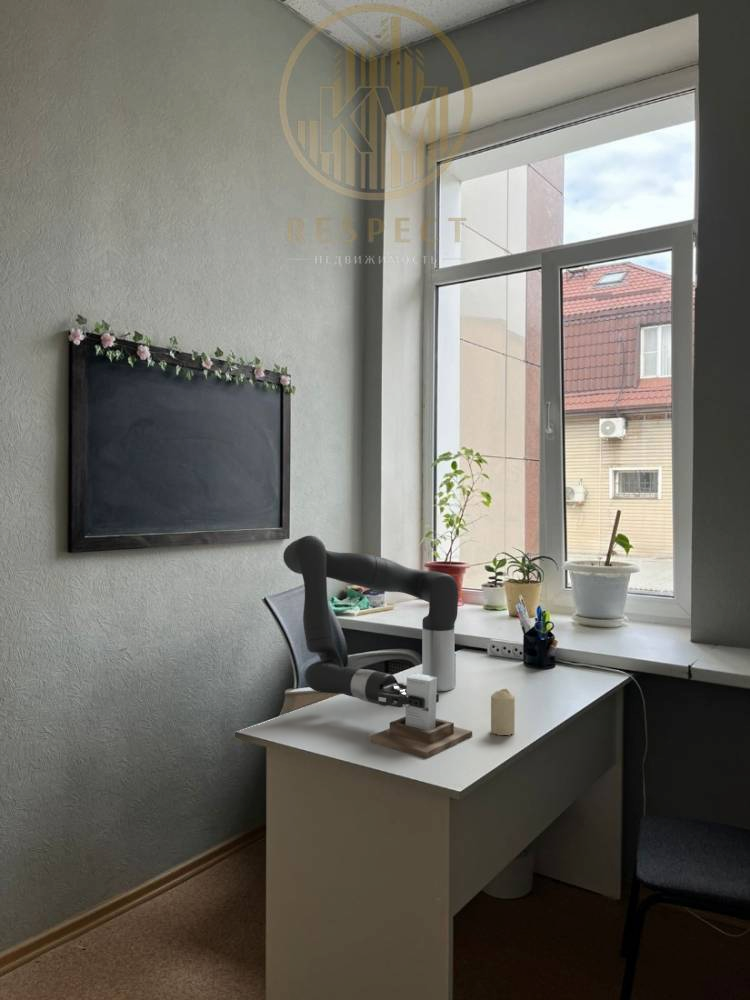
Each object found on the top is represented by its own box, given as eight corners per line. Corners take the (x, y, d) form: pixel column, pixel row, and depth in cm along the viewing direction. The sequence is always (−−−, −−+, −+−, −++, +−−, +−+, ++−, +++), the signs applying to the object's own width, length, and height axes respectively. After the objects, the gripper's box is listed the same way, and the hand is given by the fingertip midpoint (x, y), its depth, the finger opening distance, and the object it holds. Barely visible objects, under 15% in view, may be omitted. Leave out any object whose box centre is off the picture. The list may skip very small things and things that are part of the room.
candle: (498, 726, 178) (498, 685, 178) (518, 731, 174) (519, 689, 174) (486, 732, 174) (486, 690, 173) (507, 737, 170) (507, 694, 170)
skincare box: (404, 729, 169) (404, 677, 169) (413, 723, 173) (413, 672, 172) (428, 734, 166) (429, 680, 165) (437, 728, 170) (437, 676, 169)
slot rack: (417, 722, 181) (417, 707, 181) (472, 736, 171) (472, 720, 171) (369, 741, 168) (369, 725, 168) (426, 758, 157) (426, 740, 157)
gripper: (354, 677, 173) (412, 691, 162) (392, 665, 184) (449, 678, 173) (354, 709, 173) (411, 725, 162) (392, 695, 184) (448, 709, 173)
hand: (430, 700), depth 168 cm, fingers closed on skincare box, 4 cm apart
